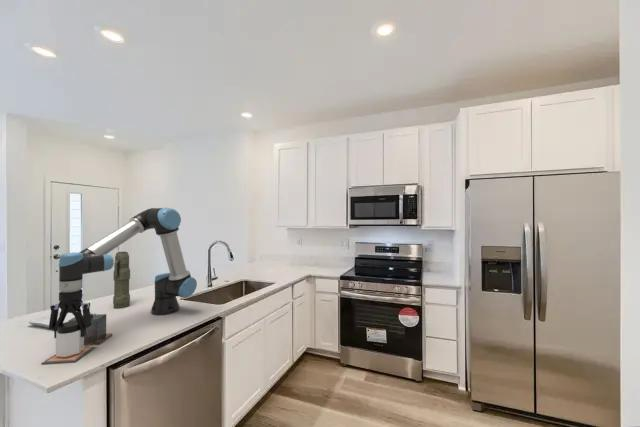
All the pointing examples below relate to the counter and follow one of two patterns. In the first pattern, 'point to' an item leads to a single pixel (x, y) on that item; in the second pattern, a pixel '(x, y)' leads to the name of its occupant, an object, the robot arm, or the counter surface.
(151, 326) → the counter surface
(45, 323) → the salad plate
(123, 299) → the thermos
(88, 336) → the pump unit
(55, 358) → the mat
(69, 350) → the jar
